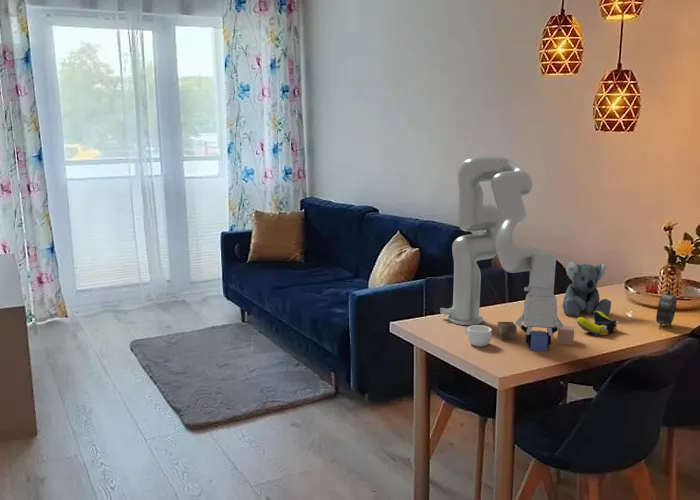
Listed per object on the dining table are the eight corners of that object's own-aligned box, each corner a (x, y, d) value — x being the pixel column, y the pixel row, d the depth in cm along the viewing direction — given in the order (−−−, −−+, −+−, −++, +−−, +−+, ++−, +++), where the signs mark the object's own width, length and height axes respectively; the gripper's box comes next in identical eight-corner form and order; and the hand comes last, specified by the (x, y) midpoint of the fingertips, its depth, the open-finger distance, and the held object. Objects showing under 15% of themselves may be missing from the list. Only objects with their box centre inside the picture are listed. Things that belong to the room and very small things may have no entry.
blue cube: (530, 350, 209) (531, 335, 208) (528, 345, 214) (529, 330, 213) (546, 351, 208) (547, 336, 207) (544, 346, 213) (545, 331, 212)
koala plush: (564, 317, 246) (568, 266, 242) (553, 304, 263) (557, 256, 260) (612, 318, 244) (616, 267, 241) (598, 305, 262) (602, 257, 258)
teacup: (496, 345, 214) (497, 329, 213) (480, 350, 209) (480, 333, 208) (473, 337, 221) (473, 322, 220) (457, 341, 217) (457, 326, 216)
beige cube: (557, 343, 216) (558, 328, 215) (557, 339, 221) (558, 324, 220) (573, 345, 214) (574, 330, 213) (573, 340, 219) (574, 326, 218)
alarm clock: (660, 321, 241) (664, 278, 238) (676, 324, 238) (681, 280, 235) (654, 329, 232) (658, 284, 229) (670, 331, 229) (675, 286, 226)
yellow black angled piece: (573, 332, 228) (601, 339, 221) (574, 317, 227) (602, 323, 220) (594, 324, 238) (621, 330, 231) (596, 309, 237) (623, 315, 230)
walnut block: (500, 340, 219) (501, 326, 218) (497, 335, 223) (497, 321, 223) (515, 340, 219) (516, 326, 218) (511, 335, 224) (512, 321, 223)
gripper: (514, 292, 205) (511, 348, 208) (571, 295, 203) (567, 351, 206) (512, 287, 212) (509, 340, 216) (567, 289, 210) (563, 343, 213)
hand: (537, 345), depth 211 cm, fingers closed on blue cube, 4 cm apart
